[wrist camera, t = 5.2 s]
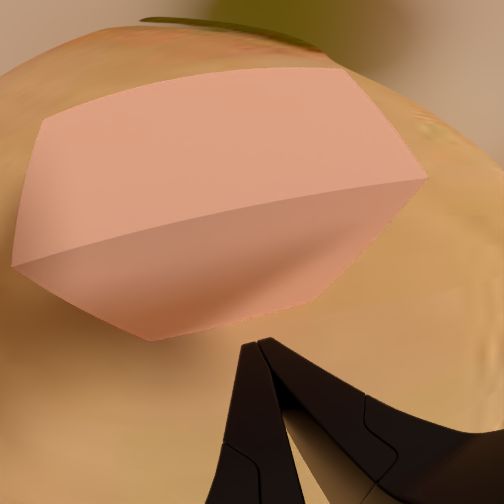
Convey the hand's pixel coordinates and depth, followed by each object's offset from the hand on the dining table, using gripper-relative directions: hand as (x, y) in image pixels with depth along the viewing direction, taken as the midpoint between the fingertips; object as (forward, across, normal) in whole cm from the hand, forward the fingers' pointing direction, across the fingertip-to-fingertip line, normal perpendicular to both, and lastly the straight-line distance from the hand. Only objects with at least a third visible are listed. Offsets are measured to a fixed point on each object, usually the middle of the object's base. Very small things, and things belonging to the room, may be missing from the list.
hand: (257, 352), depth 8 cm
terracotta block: (+9, 0, +3) cm, 10 cm away
